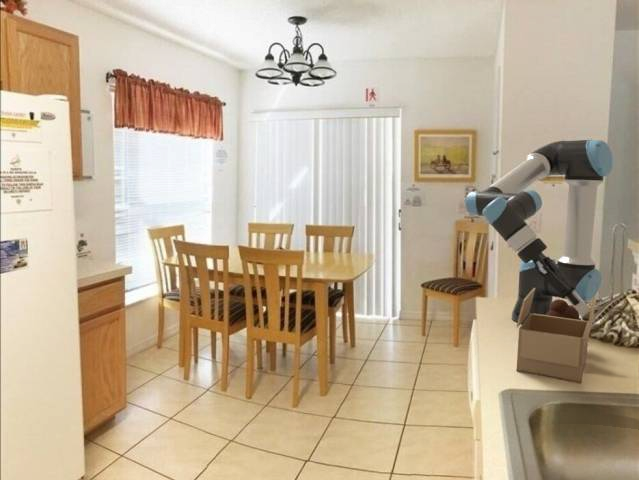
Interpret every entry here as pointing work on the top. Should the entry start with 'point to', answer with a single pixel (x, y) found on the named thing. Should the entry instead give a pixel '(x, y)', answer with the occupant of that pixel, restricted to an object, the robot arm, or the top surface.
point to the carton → (553, 347)
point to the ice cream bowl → (563, 310)
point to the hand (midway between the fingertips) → (586, 312)
